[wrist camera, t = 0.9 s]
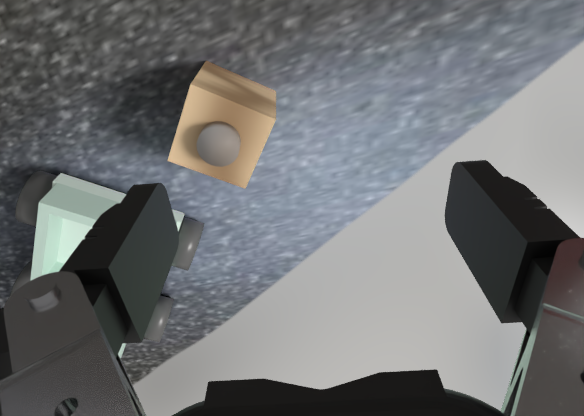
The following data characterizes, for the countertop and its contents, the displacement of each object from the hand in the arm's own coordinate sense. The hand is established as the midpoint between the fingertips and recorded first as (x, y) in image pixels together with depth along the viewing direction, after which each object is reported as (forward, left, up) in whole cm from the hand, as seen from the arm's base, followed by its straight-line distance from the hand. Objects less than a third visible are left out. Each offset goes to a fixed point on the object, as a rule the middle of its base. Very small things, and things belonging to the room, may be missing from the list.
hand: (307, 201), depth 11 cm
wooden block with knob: (-3, -5, -18) cm, 18 cm away
